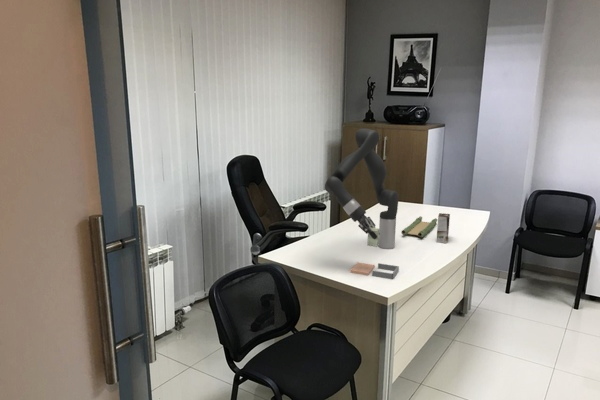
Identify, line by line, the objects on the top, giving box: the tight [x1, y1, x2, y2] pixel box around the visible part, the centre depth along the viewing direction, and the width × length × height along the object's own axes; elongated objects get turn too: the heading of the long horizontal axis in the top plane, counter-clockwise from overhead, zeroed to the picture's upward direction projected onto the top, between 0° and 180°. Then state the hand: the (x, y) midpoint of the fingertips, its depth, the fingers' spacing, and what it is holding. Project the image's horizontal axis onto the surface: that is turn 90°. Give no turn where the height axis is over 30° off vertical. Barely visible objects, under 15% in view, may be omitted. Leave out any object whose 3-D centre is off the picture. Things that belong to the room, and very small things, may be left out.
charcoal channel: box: [371, 262, 400, 280], centre depth 221 cm, size 12×10×2 cm
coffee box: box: [435, 213, 451, 244], centre depth 271 cm, size 9×6×16 cm
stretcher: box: [401, 216, 438, 238], centre depth 293 cm, size 41×14×5 cm, turn 150°
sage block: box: [367, 227, 379, 248], centre depth 220 cm, size 4×4×8 cm
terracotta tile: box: [349, 262, 376, 276], centre depth 226 cm, size 12×9×1 cm
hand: (377, 236), depth 219 cm, fingers closed on sage block, 4 cm apart
